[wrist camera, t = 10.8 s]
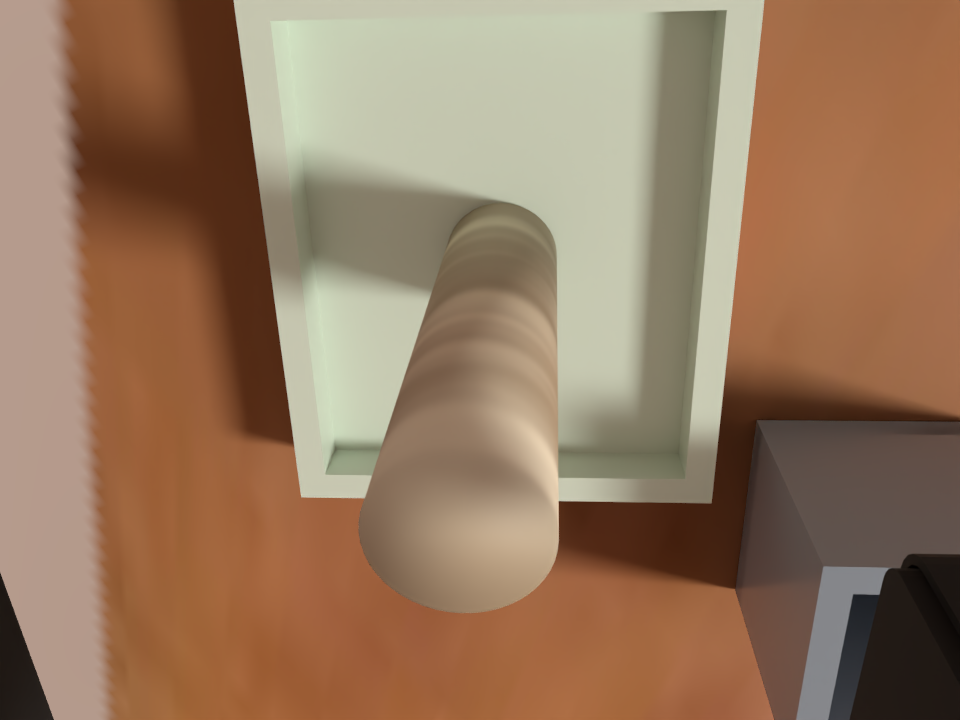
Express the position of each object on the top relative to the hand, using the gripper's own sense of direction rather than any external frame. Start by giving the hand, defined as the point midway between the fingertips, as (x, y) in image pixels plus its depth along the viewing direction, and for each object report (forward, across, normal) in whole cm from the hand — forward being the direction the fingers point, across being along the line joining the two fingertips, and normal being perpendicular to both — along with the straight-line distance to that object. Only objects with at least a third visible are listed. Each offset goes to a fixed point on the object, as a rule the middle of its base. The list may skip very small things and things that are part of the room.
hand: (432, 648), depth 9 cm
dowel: (+15, 0, +1) cm, 15 cm away
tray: (+17, 0, +1) cm, 17 cm away
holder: (+16, -11, +10) cm, 22 cm away
